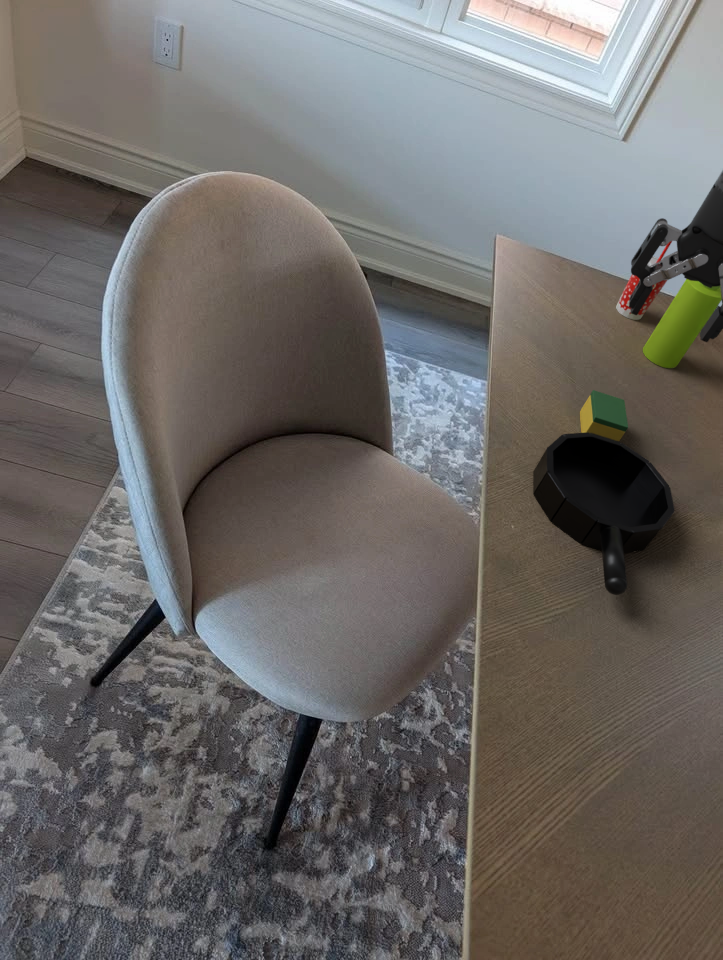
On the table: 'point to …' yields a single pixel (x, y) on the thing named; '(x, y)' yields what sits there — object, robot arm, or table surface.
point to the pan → (603, 498)
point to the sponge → (604, 416)
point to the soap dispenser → (681, 323)
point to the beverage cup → (631, 285)
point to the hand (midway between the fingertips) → (667, 324)
